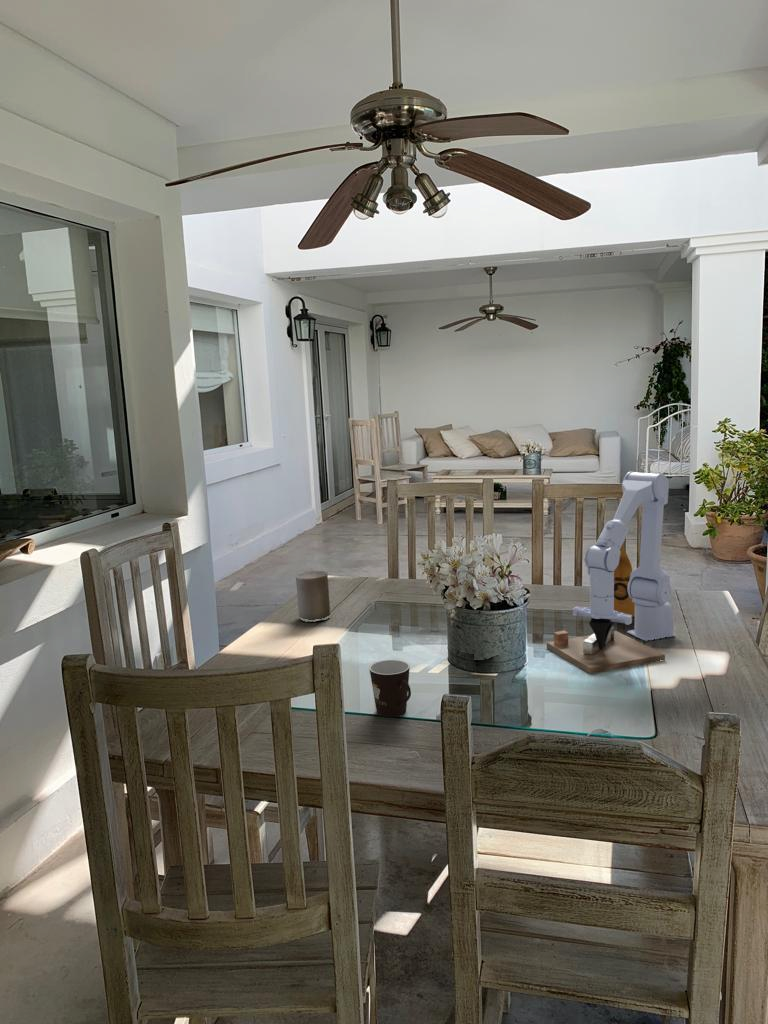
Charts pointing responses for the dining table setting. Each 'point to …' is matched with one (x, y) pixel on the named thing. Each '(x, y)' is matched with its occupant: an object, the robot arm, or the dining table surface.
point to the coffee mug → (390, 687)
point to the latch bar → (595, 642)
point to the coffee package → (623, 585)
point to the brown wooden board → (604, 652)
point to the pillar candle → (313, 595)
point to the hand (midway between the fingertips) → (601, 647)
